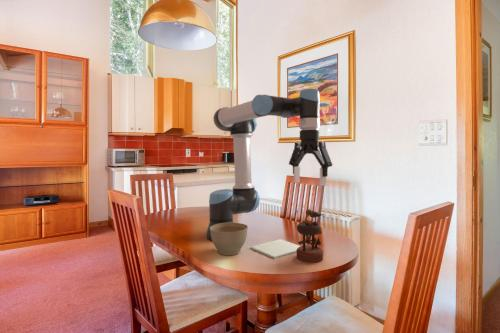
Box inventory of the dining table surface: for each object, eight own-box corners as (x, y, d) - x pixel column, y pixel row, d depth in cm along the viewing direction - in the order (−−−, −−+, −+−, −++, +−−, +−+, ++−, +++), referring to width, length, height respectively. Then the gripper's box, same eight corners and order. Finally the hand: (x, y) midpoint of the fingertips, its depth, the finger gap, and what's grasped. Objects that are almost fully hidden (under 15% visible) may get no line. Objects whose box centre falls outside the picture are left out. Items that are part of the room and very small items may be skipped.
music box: (308, 250, 129) (311, 205, 126) (330, 259, 121) (334, 211, 118) (284, 259, 119) (288, 210, 116) (307, 269, 111) (311, 217, 108)
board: (250, 248, 132) (250, 246, 132) (280, 240, 143) (280, 239, 143) (274, 258, 119) (274, 256, 119) (305, 249, 130) (305, 247, 130)
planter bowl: (232, 243, 139) (232, 220, 138) (255, 252, 127) (255, 227, 126) (202, 251, 128) (202, 226, 128) (225, 261, 116) (225, 234, 116)
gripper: (280, 131, 124) (280, 181, 125) (329, 127, 104) (328, 187, 106) (293, 131, 129) (293, 180, 130) (342, 128, 109) (341, 185, 110)
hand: (309, 183), depth 118 cm, fingers open, 13 cm apart
